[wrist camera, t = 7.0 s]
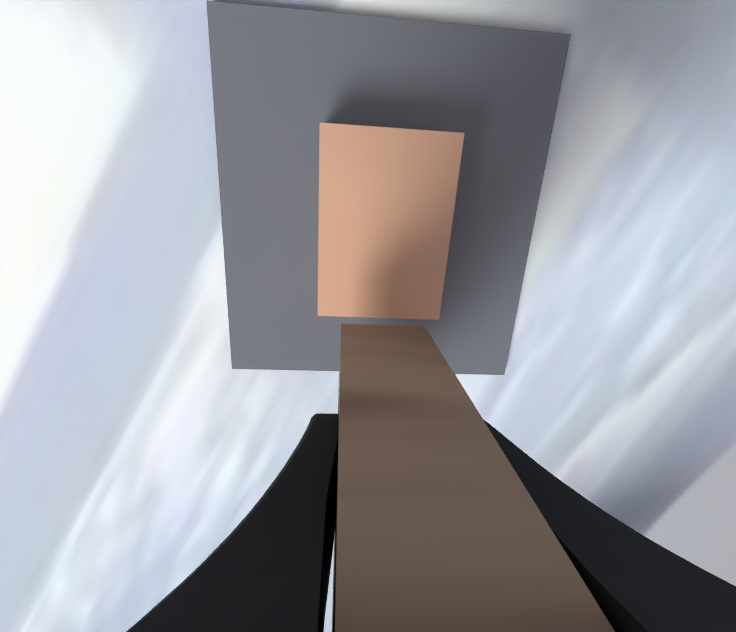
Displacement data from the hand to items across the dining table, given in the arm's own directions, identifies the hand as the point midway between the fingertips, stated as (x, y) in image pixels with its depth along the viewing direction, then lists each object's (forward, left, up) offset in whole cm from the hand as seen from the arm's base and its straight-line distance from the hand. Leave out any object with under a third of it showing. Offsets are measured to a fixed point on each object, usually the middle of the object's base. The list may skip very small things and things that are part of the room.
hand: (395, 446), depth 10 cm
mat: (+5, 0, -8) cm, 10 cm away
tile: (+1, 0, -7) cm, 7 cm away
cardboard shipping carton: (-1, 0, -4) cm, 4 cm away
